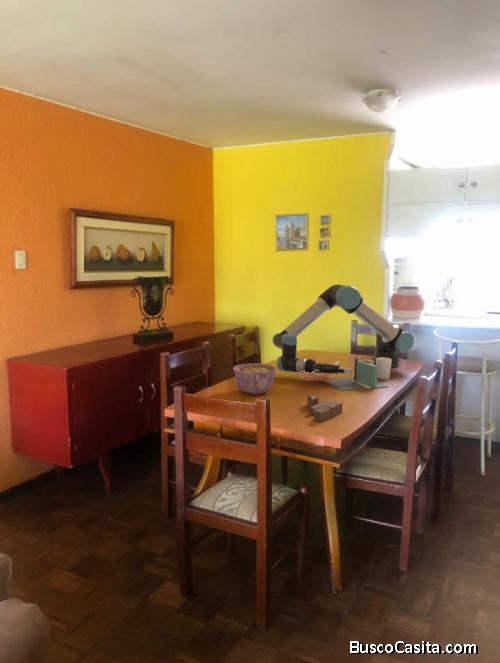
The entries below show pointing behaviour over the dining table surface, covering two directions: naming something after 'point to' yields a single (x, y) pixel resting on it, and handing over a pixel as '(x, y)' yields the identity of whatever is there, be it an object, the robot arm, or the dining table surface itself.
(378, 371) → the white cup
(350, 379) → the mat
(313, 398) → the wooden block set
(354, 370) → the tan brown patterned panel
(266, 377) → the bowl of food
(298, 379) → the dining table surface
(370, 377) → the teal rectangular panel
